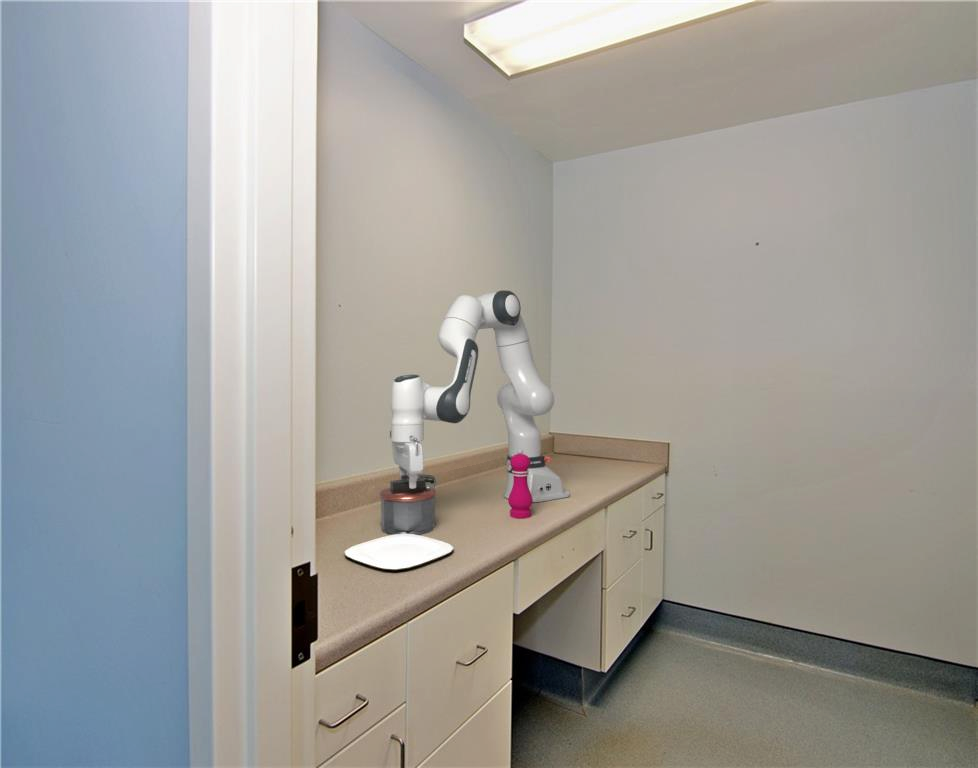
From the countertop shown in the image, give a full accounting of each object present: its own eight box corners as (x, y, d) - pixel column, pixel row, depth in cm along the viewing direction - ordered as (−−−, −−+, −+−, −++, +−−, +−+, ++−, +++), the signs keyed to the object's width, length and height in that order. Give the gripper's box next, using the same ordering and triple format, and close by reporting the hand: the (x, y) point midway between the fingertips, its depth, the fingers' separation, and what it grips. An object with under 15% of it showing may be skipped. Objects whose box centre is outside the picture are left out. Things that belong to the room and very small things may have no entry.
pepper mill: (515, 511, 170) (515, 446, 170) (536, 514, 166) (536, 448, 166) (503, 516, 164) (503, 449, 163) (525, 520, 160) (525, 451, 160)
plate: (403, 536, 147) (403, 530, 147) (464, 553, 133) (464, 546, 133) (333, 558, 130) (333, 551, 130) (394, 580, 116) (394, 572, 116)
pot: (419, 512, 169) (418, 483, 169) (440, 532, 149) (440, 499, 148) (372, 517, 164) (372, 487, 164) (388, 538, 143) (387, 503, 143)
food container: (440, 505, 179) (440, 474, 178) (436, 510, 173) (436, 477, 172) (402, 504, 180) (402, 473, 180) (397, 509, 174) (397, 477, 174)
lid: (427, 488, 162) (426, 473, 162) (442, 499, 148) (442, 483, 148) (375, 492, 156) (375, 477, 156) (386, 504, 142) (386, 488, 142)
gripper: (429, 437, 143) (429, 491, 144) (409, 430, 162) (410, 477, 163) (405, 439, 141) (405, 493, 141) (388, 431, 160) (388, 478, 160)
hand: (408, 484), depth 152 cm, fingers open, 8 cm apart
